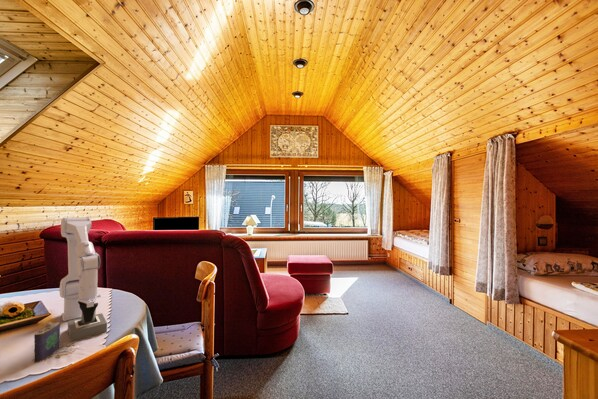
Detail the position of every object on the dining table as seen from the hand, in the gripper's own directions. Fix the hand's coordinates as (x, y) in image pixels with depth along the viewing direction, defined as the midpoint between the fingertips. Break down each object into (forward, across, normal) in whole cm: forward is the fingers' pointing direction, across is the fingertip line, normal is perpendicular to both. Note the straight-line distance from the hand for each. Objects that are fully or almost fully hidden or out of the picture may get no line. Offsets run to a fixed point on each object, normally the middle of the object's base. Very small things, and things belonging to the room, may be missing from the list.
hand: (87, 319), depth 105 cm
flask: (+5, -11, +12) cm, 17 cm away
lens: (+2, 0, 0) cm, 2 cm away
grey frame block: (+4, 0, 0) cm, 4 cm away
